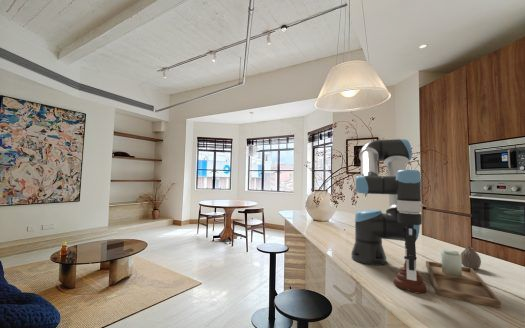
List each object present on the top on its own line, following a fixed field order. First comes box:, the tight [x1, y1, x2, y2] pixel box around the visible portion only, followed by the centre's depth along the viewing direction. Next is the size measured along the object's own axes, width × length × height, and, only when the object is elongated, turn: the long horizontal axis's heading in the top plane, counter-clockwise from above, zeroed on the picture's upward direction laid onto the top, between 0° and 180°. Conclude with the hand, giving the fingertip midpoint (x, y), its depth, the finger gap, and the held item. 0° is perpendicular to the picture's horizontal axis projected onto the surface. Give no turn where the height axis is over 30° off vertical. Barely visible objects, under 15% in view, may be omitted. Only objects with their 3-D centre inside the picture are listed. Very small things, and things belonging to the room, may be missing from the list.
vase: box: [460, 246, 482, 271], centre depth 104 cm, size 7×7×9 cm
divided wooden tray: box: [425, 260, 502, 309], centre depth 88 cm, size 16×31×2 cm, turn 150°
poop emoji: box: [393, 259, 428, 294], centre depth 84 cm, size 10×8×9 cm
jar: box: [440, 248, 463, 277], centre depth 95 cm, size 6×6×9 cm
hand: (410, 273), depth 84 cm, fingers open, 13 cm apart
